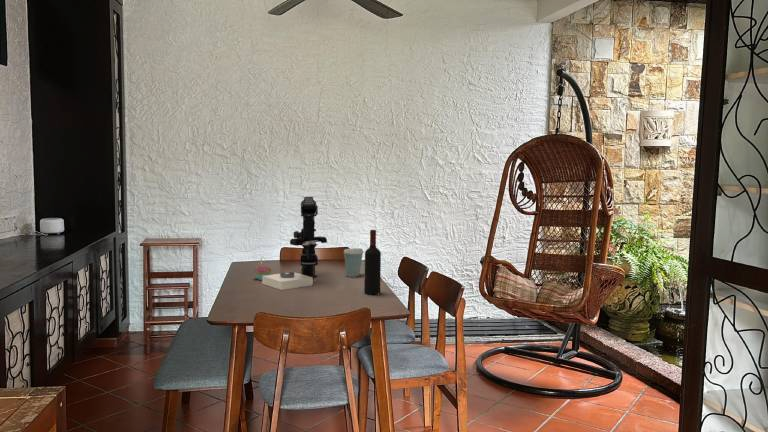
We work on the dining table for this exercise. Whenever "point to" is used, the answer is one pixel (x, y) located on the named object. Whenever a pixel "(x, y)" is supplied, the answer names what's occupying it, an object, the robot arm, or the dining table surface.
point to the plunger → (287, 274)
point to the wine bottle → (372, 267)
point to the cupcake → (262, 271)
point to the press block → (287, 281)
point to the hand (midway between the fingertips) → (308, 257)
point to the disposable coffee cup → (353, 261)
